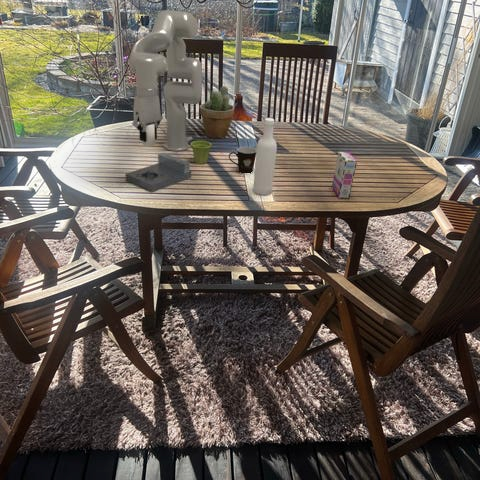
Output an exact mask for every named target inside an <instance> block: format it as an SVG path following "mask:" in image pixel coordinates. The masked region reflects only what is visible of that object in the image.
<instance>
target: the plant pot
mask: <svg viewBox="0 0 480 480" xmlns="http://www.w3.org/2000/svg"><path fill="white" fill-rule="evenodd" d="M190 146H191V148H192V153H193V162H194V163H196V164H199V165H205V164H207V163H208V159H209V154H210V150H211V146H212V143H211V142H209V141H205V140H194V141H192V142H190Z"/></svg>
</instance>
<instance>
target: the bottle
mask: <svg viewBox="0 0 480 480" xmlns="http://www.w3.org/2000/svg"><path fill="white" fill-rule="evenodd" d="M274 127H275V119H274V118H273V117H272V118H271V117H266V118H265V119H264V122H263V135H262V137H260V138H259V140H258V142H257V145H256V150H257V152H256V157H255V162H254V176H253V186H252V192H254V193H255V194H256V193H257V194H256V195H259V194H260V195H259V196H268V194H269V195H270V194H272V193H273V187H274V185H273V184H274V175H275V168H276V167H275V166H276V159H277V158H276V157H277V149H278V146H277V145H278V144H277V141H276V139H274Z"/></svg>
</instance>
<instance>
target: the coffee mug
mask: <svg viewBox="0 0 480 480" xmlns="http://www.w3.org/2000/svg"><path fill="white" fill-rule="evenodd" d="M256 152H257V148H254V147H250V146H240V147H238V148H237V152H235V151H233V152H230V153H228V160H230V162H231V163H232V164H234V165H236V166H237V168H238V169H237V170H239V171H238V173H240V172H241V173H240V174H243V173H250V174H252V173H253V172H252V171H253V170H254V168H255V163H256ZM231 155H235V156H236V157H237V162H235V161H234V160H232V159H231V157H230V156H231ZM251 172H252V173H251Z"/></svg>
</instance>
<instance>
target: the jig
mask: <svg viewBox="0 0 480 480" xmlns="http://www.w3.org/2000/svg"><path fill="white" fill-rule="evenodd" d="M157 161H158V163H154V164H151V165H149V166H145V167H143V168H142V167H141V168H139V169H137V170H133V171H130V172H126V173H125V181H127V182H128V183H130V184H133V185H135V186H137V187H139V188H142V189H144V190H146V191H149V192H151V193H154V192H155V193H156V191H160V190H162V189H165V188H167V187H171V186H173V185H175V184H178V183H180V182H183V181H186V180H188V179H191V178H192V171H191V170H190V169H191V168H190V167H191V166H190V165H191V163H190V162H189V161H186V160H183V159H181V158H179V157H176V156H173V155H171V154H167V153H165V152H162V153H158V154H157Z"/></svg>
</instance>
